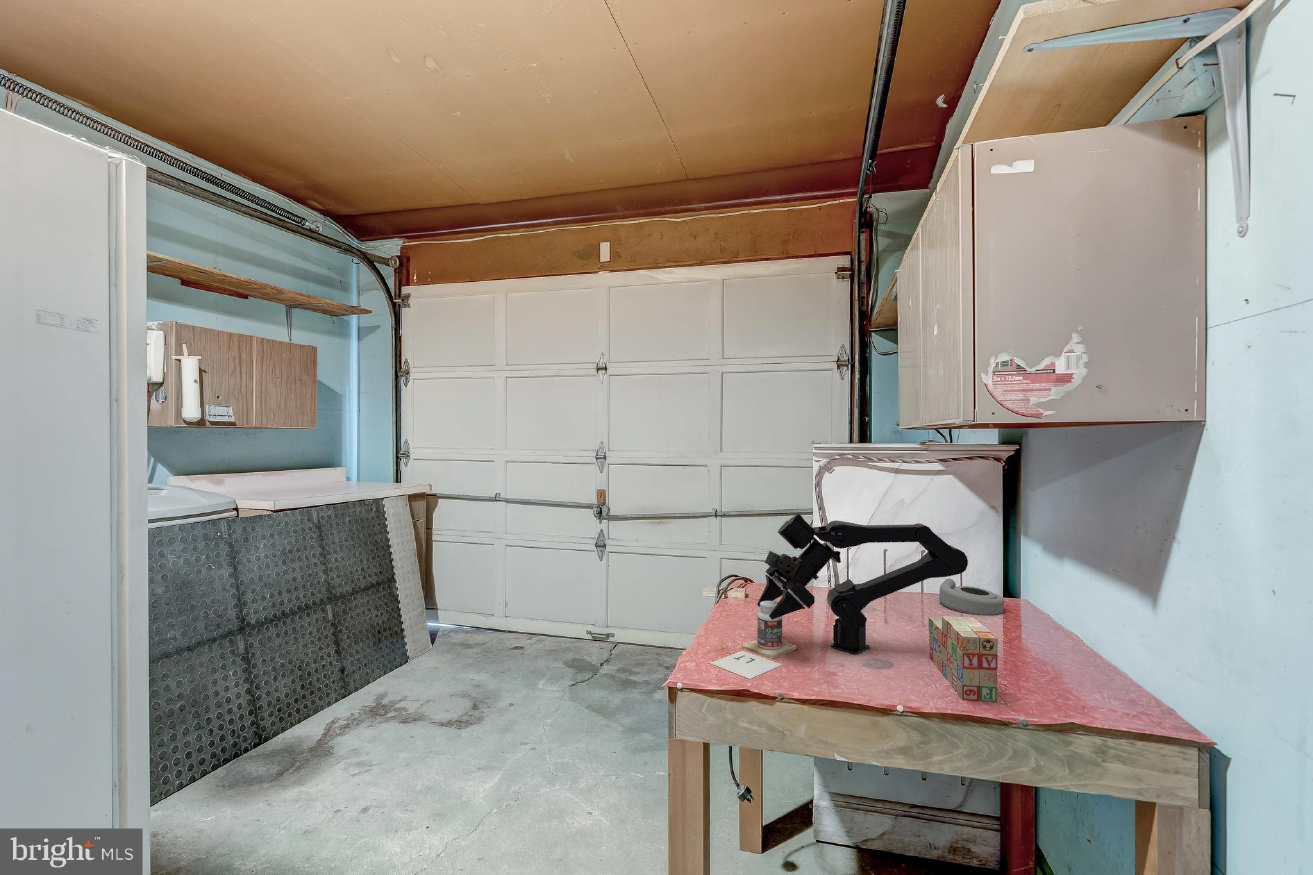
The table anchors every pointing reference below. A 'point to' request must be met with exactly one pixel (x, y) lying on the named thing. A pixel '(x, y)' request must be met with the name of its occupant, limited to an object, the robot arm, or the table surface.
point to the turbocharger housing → (970, 599)
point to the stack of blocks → (965, 656)
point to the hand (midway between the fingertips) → (764, 611)
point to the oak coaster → (769, 653)
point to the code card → (746, 664)
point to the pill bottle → (769, 627)
